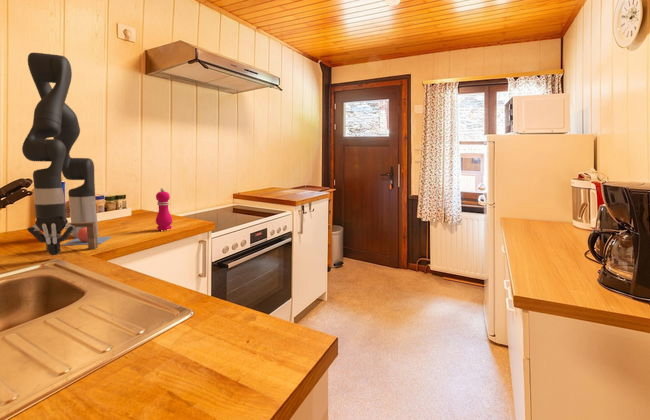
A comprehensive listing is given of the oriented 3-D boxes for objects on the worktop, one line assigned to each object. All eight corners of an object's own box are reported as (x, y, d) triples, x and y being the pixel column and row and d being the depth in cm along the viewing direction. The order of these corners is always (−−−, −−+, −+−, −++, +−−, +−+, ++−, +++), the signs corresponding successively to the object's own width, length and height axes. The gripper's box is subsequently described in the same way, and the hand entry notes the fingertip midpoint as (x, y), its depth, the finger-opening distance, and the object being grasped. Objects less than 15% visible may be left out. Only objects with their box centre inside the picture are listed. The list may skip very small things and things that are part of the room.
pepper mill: (166, 231, 158) (164, 188, 155) (152, 230, 160) (150, 188, 157) (176, 228, 165) (174, 187, 162) (162, 228, 167) (160, 187, 164)
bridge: (50, 249, 124) (48, 223, 122) (97, 247, 128) (95, 221, 126) (46, 251, 121) (44, 224, 120) (94, 249, 125) (92, 223, 124)
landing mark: (76, 238, 142) (76, 237, 142) (112, 236, 146) (111, 236, 146) (62, 245, 130) (61, 244, 130) (100, 243, 133) (100, 243, 133)
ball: (73, 232, 131) (76, 245, 134) (90, 232, 132) (94, 244, 135) (79, 224, 136) (82, 236, 139) (96, 224, 137) (99, 236, 140)
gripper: (78, 200, 115) (82, 250, 117) (32, 201, 111) (37, 252, 114) (68, 203, 107) (73, 256, 110) (18, 203, 104) (24, 258, 106)
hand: (54, 254), depth 112 cm, fingers closed
